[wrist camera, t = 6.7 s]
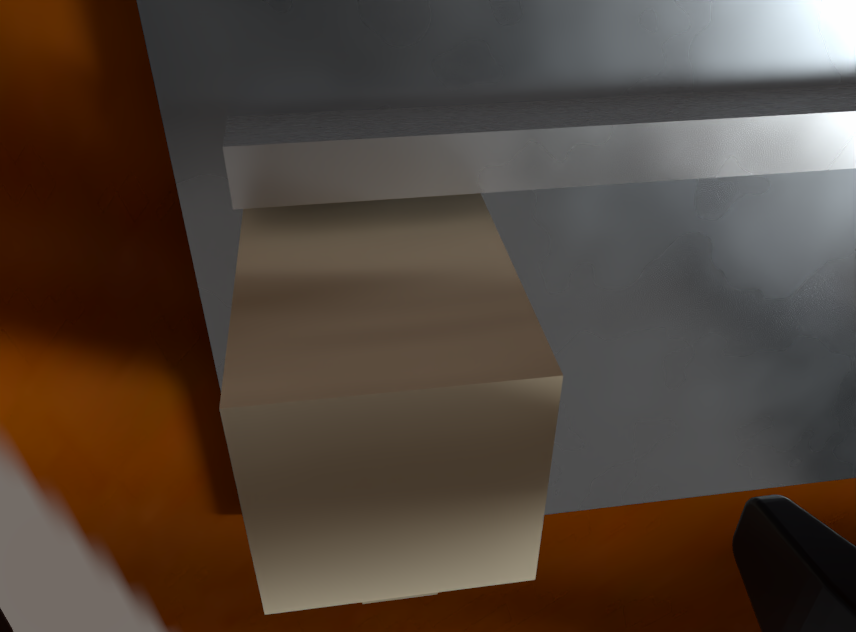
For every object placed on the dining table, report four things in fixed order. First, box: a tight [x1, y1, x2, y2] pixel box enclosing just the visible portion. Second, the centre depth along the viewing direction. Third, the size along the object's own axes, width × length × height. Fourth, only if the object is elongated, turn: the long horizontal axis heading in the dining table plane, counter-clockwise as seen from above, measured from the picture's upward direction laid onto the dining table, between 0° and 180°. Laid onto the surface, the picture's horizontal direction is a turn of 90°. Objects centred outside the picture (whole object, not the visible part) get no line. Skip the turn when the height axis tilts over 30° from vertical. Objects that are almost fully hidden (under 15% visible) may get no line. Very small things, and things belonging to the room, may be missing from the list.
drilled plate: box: [137, 0, 856, 515], centre depth 14 cm, size 14×20×4 cm
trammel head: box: [219, 193, 563, 615], centre depth 12 cm, size 5×4×5 cm
